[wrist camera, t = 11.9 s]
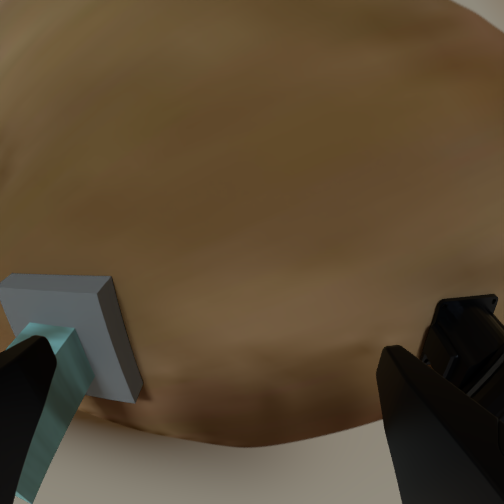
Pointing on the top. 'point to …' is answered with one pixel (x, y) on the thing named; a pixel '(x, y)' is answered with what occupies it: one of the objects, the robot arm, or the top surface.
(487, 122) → the top surface
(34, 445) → the teal block
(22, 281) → the gray square slab
